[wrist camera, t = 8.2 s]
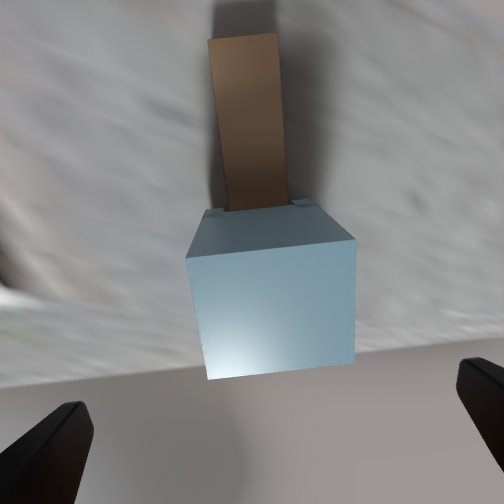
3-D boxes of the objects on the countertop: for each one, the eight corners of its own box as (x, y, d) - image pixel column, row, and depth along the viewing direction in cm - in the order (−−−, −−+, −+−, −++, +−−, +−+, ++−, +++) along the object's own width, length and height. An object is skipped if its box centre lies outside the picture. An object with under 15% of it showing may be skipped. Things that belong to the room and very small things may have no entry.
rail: (313, 296, 20) (330, 333, 16) (219, 307, 20) (215, 346, 16) (303, 41, 15) (325, 11, 12) (180, 54, 15) (161, 28, 12)
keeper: (312, 282, 19) (354, 363, 12) (218, 292, 19) (208, 379, 12) (309, 198, 17) (355, 239, 10) (205, 209, 17) (185, 258, 10)
